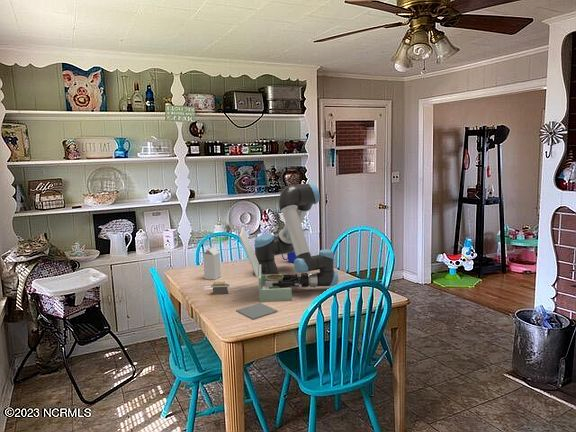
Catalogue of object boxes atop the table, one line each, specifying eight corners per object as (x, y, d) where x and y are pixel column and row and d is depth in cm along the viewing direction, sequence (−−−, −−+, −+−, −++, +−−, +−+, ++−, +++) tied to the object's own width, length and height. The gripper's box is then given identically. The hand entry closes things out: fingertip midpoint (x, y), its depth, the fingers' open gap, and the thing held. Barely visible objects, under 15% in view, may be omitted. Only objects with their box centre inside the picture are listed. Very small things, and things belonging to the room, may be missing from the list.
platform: (205, 291, 241) (204, 279, 240) (238, 289, 242) (237, 278, 241) (202, 298, 229) (201, 286, 228) (236, 297, 230) (236, 284, 229)
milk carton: (220, 276, 266) (219, 245, 263) (215, 280, 259) (213, 248, 256) (210, 275, 268) (208, 245, 265) (204, 279, 261) (202, 247, 258)
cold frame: (288, 283, 248) (288, 263, 246) (291, 300, 222) (291, 277, 220) (259, 285, 247) (259, 264, 245) (259, 301, 221) (258, 278, 219)
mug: (281, 260, 298) (280, 246, 296) (298, 259, 299) (298, 245, 297) (282, 264, 290) (281, 249, 288) (300, 263, 291) (299, 248, 289)
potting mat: (236, 311, 209) (236, 310, 209) (260, 304, 217) (260, 302, 217) (253, 319, 198) (253, 318, 198) (277, 311, 207) (277, 310, 207)
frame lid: (243, 226, 241) (242, 227, 241) (240, 236, 215) (239, 236, 215) (258, 262, 245) (257, 263, 245) (257, 276, 219) (256, 277, 219)
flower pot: (281, 295, 229) (281, 279, 227) (264, 294, 231) (263, 279, 229) (285, 289, 238) (285, 274, 236) (268, 289, 240) (268, 273, 238)
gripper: (310, 293, 224) (266, 295, 223) (306, 280, 245) (266, 282, 244) (310, 278, 223) (265, 280, 222) (306, 267, 244) (265, 269, 243)
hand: (265, 281), depth 233 cm, fingers closed on flower pot, 8 cm apart
